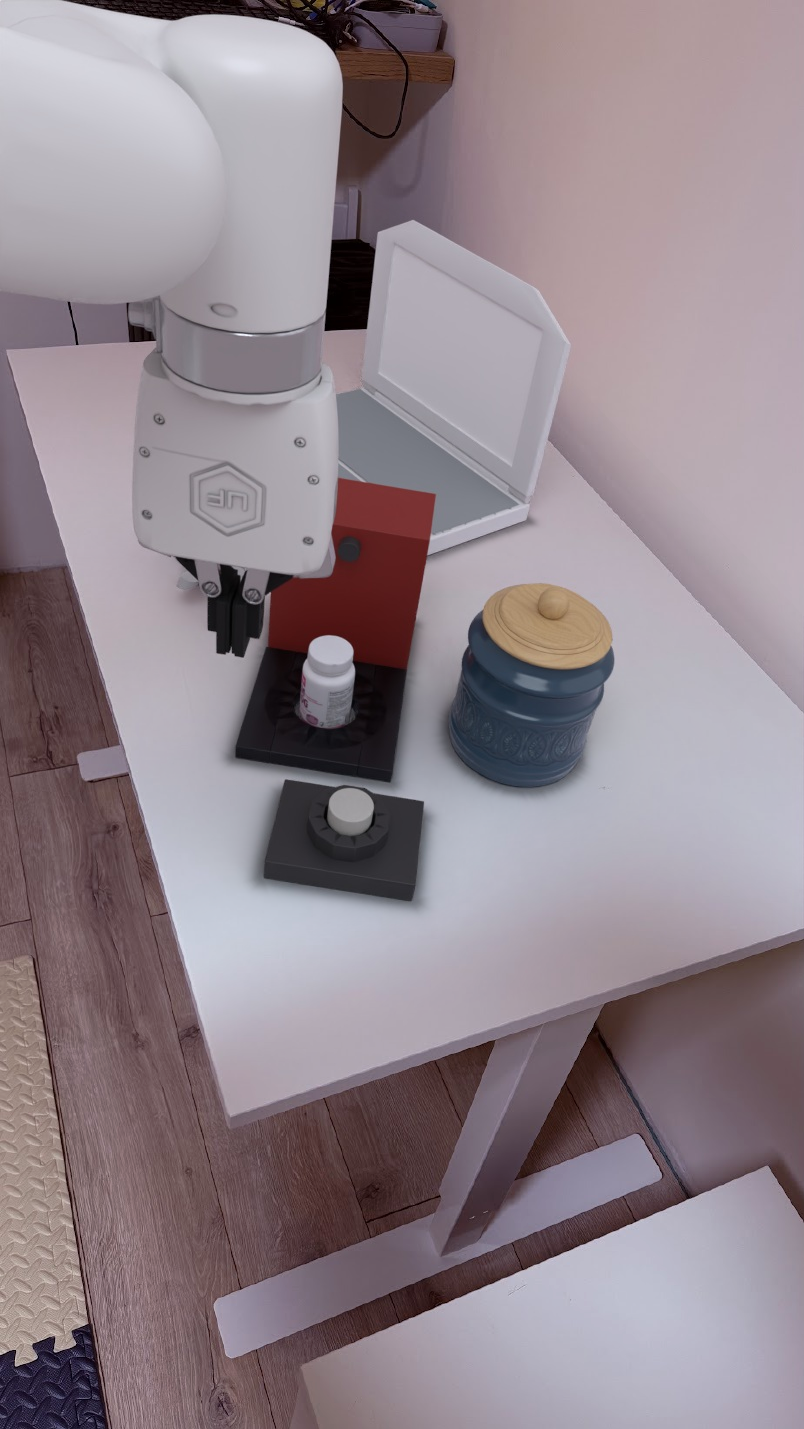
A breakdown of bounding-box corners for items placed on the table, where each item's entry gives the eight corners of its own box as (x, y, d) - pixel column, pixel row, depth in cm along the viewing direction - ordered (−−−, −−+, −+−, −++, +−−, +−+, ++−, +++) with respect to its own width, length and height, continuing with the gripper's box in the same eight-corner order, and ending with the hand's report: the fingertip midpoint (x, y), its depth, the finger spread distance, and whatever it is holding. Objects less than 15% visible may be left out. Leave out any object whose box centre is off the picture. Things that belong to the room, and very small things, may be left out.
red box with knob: (265, 658, 100) (272, 520, 89) (281, 603, 107) (290, 469, 96) (405, 681, 100) (429, 546, 89) (412, 625, 107) (436, 493, 96)
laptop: (216, 438, 129) (217, 220, 111) (366, 401, 142) (389, 201, 124) (373, 575, 112) (406, 344, 94) (528, 520, 125) (582, 307, 107)
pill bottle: (288, 710, 95) (293, 641, 89) (330, 693, 98) (338, 625, 92) (316, 742, 93) (323, 673, 87) (359, 724, 95) (368, 656, 89)
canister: (607, 766, 95) (665, 619, 83) (495, 808, 90) (540, 657, 78) (529, 680, 103) (571, 534, 91) (420, 713, 97) (451, 562, 85)
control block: (263, 878, 81) (265, 846, 78) (283, 795, 87) (286, 763, 85) (411, 901, 81) (418, 871, 78) (420, 817, 88) (427, 786, 85)
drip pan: (235, 757, 90) (235, 746, 89) (265, 657, 100) (266, 646, 99) (390, 782, 90) (392, 771, 89) (405, 680, 100) (407, 669, 99)
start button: (324, 832, 80) (325, 817, 79) (330, 798, 83) (332, 784, 82) (368, 839, 81) (371, 825, 79) (373, 805, 83) (376, 791, 82)
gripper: (56, 345, 44) (89, 661, 57) (392, 401, 45) (352, 703, 57) (108, 282, 50) (128, 583, 62) (407, 333, 50) (367, 622, 63)
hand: (235, 640), depth 60 cm, fingers closed
